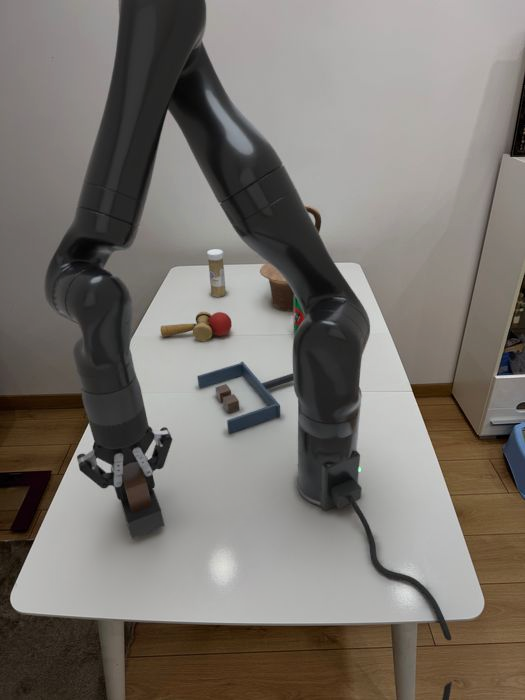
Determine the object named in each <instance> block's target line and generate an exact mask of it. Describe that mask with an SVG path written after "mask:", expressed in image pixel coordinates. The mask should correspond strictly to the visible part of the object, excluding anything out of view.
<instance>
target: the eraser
mask: <svg viewBox="0 0 525 700" xmlns="http://www.w3.org/2000/svg"><path fill="white" fill-rule="evenodd" d="M122 480H123V483H124V487H125V490H126V494H127V498H128V501H126V502H124V501H123V499H122V500H120V504H121V507H122V509H123V514H124V517H125V520H126V524H127V527H128V530H129V534H130V538H131V539H135V538H137V537H140V536H142V535H145V534H147V533H150V532H152V531H155V530H158V529H160V528H163V527H165V520H164V517H163V512H162V509H161V508H162V507H161V506H160V503H159V501H158V498H157V496H156V493H155V490H154V488H153V489H151V490H152V492H151V493H149V490H148V486H147V482H146V479H145V477H144V474H143V471H142V468H141V467H140V465H139V463H138V462H134V463H129V464H127V465H125V466H123V475H122Z"/></svg>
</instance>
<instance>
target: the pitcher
mask: <svg viewBox="0 0 525 700" xmlns="http://www.w3.org/2000/svg"><path fill="white" fill-rule="evenodd" d="M304 206H305V208H306V210H307V212H308V214H311V215H312V216H313V218H314V225H315V227H316V229H317V231H318V233H319V234H320V231H321V227H322V216H321V214H320V212H319V210H318V209H317V208H316V207H314V206H311V205H307V204H304ZM259 273H260V275H261V276H262V277H264V278H266V279H268V283H269V286H270V293H271V300H272V301H271V304H272V306H273V307H274V308H276V309H278V310H282V311H289V312H290V311H293V295H294V292H293V291H292V289H291V287H290V286H289V284H288V282H287V281H286V280H285V278H284V277H283V276H282V275H281V274H280V273H279V271H278V270H276V269H275V268H274V267H273V266H272V265H271V264H269V263H268V262H267V261H266V263H264V264H263V265H261V267H260V268H259Z"/></svg>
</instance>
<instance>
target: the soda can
mask: <svg viewBox="0 0 525 700" xmlns="http://www.w3.org/2000/svg"><path fill="white" fill-rule="evenodd" d="M292 311H293V313H292V314H293V315H292V317H293V334H294V335H295V333H296V331H297V329H298V328H299V326H300V324H301V323H302V321H303V320H304V318H305V316H304V313H303V311H302V308H301V306H300V304H299V302H298V300H297V298H296V296H295V294H294V295H293V310H292Z"/></svg>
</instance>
